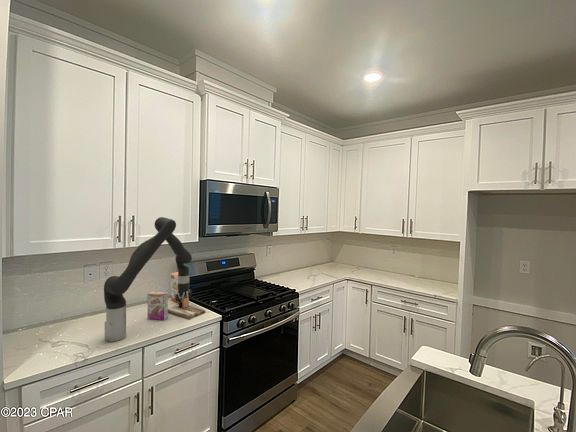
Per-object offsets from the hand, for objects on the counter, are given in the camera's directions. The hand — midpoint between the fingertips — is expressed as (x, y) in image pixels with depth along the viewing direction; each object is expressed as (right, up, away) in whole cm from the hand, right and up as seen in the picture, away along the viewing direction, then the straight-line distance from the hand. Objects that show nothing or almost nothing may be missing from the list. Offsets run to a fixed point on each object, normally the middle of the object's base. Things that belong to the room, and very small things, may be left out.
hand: (183, 306), depth 199 cm
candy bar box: (-10, -3, -17) cm, 20 cm away
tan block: (0, 0, 0) cm, 0 cm away
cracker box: (-8, -1, +14) cm, 16 cm away
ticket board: (+4, -2, -7) cm, 8 cm away
